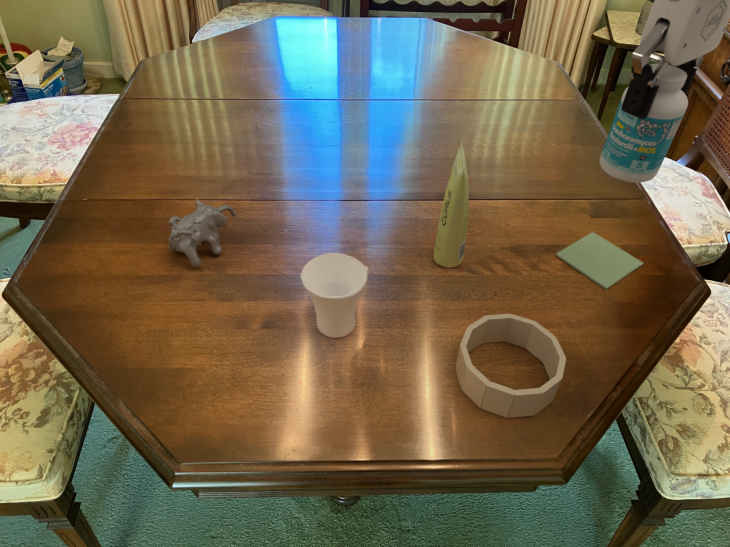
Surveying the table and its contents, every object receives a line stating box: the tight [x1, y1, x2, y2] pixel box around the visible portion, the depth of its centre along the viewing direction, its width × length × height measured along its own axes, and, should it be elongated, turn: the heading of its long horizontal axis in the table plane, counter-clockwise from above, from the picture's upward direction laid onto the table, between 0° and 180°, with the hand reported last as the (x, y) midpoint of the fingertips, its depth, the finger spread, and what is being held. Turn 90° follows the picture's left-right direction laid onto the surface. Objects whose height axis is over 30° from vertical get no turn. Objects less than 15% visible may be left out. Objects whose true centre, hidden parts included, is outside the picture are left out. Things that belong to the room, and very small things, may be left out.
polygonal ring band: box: [454, 313, 567, 419], centre depth 72 cm, size 13×13×5 cm
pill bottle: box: [599, 63, 689, 184], centre depth 69 cm, size 8×7×14 cm
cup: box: [299, 252, 370, 339], centre depth 77 cm, size 9×9×10 cm
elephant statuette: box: [168, 198, 237, 269], centre depth 90 cm, size 9×12×8 cm
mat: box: [554, 231, 644, 290], centre depth 91 cm, size 10×10×1 cm
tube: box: [433, 141, 470, 269], centre depth 84 cm, size 6×5×20 cm
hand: (652, 104), depth 67 cm, fingers closed on pill bottle, 7 cm apart
